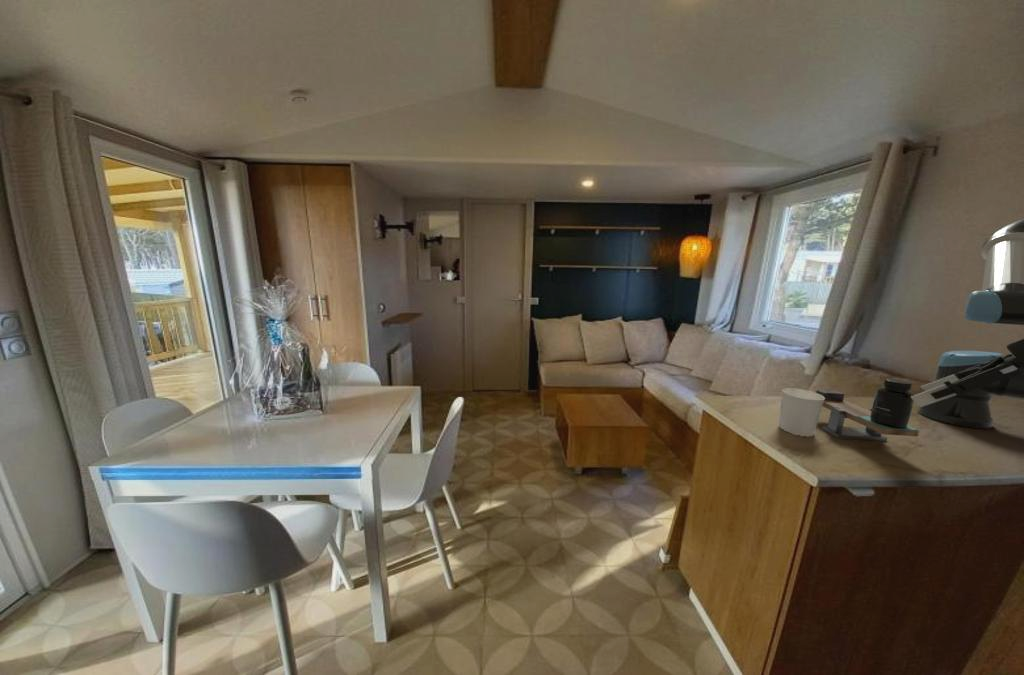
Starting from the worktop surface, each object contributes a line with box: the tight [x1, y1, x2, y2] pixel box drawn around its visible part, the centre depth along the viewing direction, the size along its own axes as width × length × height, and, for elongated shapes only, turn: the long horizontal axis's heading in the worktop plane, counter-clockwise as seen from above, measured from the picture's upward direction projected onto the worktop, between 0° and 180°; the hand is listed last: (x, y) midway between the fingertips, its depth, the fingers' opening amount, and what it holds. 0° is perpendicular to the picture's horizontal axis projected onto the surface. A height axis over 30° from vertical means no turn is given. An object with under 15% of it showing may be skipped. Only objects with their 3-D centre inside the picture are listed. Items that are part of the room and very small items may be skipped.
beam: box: [815, 389, 919, 437], centre depth 99 cm, size 9×25×5 cm, turn 173°
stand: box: [821, 407, 888, 442], centre depth 100 cm, size 13×6×8 cm, turn 83°
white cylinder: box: [778, 387, 825, 438], centre depth 102 cm, size 10×10×12 cm
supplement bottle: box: [870, 378, 915, 428], centre depth 89 cm, size 7×7×12 cm
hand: (920, 396), depth 85 cm, fingers open, 13 cm apart
